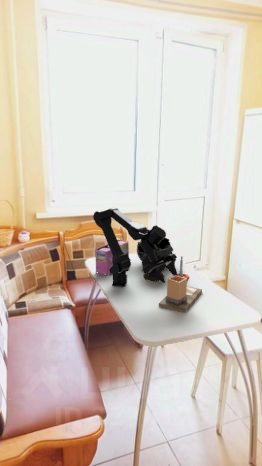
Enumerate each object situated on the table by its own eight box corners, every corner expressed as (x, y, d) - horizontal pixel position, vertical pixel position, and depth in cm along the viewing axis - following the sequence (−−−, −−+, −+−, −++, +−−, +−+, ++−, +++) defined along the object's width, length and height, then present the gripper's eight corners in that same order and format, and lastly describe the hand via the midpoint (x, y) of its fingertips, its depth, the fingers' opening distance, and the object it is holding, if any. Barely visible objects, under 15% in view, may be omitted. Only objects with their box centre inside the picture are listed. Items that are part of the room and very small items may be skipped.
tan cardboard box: (166, 296, 143) (167, 279, 141) (174, 292, 147) (175, 275, 145) (178, 300, 139) (179, 282, 137) (186, 295, 143) (187, 278, 141)
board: (185, 312, 137) (185, 309, 136) (158, 306, 142) (158, 302, 142) (201, 292, 156) (202, 288, 156) (177, 287, 162) (177, 284, 162)
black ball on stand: (169, 281, 170) (170, 253, 166) (144, 283, 167) (145, 254, 164) (162, 272, 182) (162, 245, 179) (138, 273, 180) (139, 247, 176)
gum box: (119, 260, 201) (119, 239, 198) (130, 263, 197) (130, 241, 194) (95, 273, 181) (94, 249, 178) (107, 275, 177) (106, 251, 174)
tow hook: (173, 274, 180) (172, 280, 171) (173, 251, 177) (173, 256, 168) (188, 275, 178) (189, 281, 169) (189, 252, 176) (190, 257, 167)
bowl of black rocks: (132, 261, 199) (132, 231, 194) (163, 258, 205) (163, 229, 200) (143, 273, 180) (143, 240, 176) (176, 269, 186) (178, 237, 181)
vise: (165, 301, 143) (166, 287, 142) (178, 294, 150) (178, 281, 149) (178, 306, 139) (179, 292, 138) (190, 298, 146) (191, 285, 145)
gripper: (148, 244, 136) (169, 276, 132) (174, 236, 150) (194, 264, 145) (133, 259, 143) (153, 289, 139) (159, 249, 157) (178, 277, 152)
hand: (170, 279), depth 143 cm, fingers open, 9 cm apart
